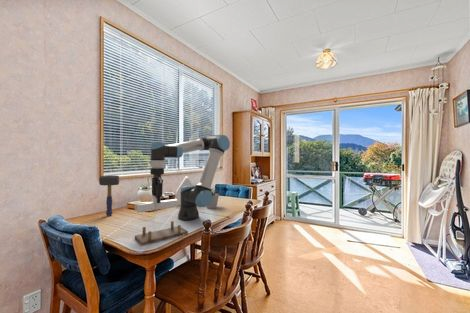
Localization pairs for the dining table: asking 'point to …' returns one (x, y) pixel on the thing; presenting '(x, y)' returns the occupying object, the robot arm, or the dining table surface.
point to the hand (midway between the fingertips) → (156, 207)
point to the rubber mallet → (109, 189)
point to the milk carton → (184, 183)
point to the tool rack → (160, 234)
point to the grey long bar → (151, 205)
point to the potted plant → (213, 200)
